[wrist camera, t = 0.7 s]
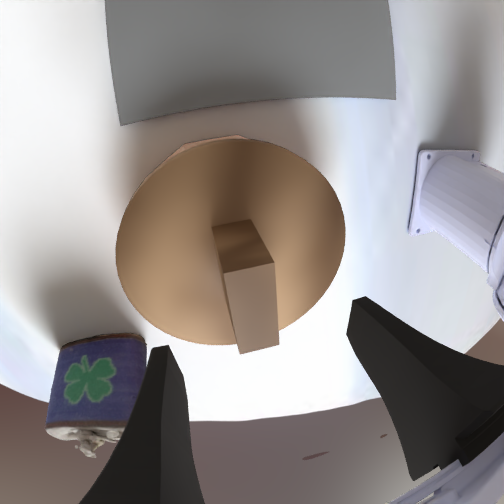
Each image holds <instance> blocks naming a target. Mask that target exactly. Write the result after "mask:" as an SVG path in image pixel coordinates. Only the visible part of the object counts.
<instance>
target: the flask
mask: <svg viewBox="0 0 504 504" xmlns="http://www.w3.org/2000/svg"><path fill="white" fill-rule="evenodd" d="M146 345H147V344H146V343H145V340H144V338H143V337H141V336H140V335H136V334H133V333H131V334H130V333H119V334H110V335H107V334H105V335H100V336H95V337H93V338H86V339H83V340H79V341H74V342H71V343H67V344H66V345H64V346H62V348H61V350H60V353H59V357H58V362H57V366H56V371H55V376H54V381H53V385H52V389H51V395H50V401H49V407H48V413H47V419H46V424H45V429H46V431H47V433H48V434H50V435H52V436H53V437H56V438H58V439H60V440H77V439H78V441H80V442H81V446H80V447H79V449H80V450H81V451H82V452H84V454H85V455H86V456H88V457H93V458H95V457H96V456H94V455H95V449H96V448H98V447H99V446H100V445H103V444H104V443H105V442H104V440H105V441H109V442H114V443H116V441H114V439H115V440H119V439H120V437H121V435H122V433H123V431H124V429H125V426H126V424H127V422H128V419H129V417H130V414H131V412H132V409H133V406H134V404H135V401H136V398H137V395H138V392H139V389H140V387H141V384H142V381H143V377H144V374H145V371H146V355H147V347H146ZM75 448H78V446H75Z"/></svg>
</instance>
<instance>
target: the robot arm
mask: <svg viewBox="0 0 504 504" xmlns="http://www.w3.org/2000/svg"><path fill="white" fill-rule="evenodd" d="M427 155H428V157H427ZM479 161H480V152H479V151H476V150H421V151H420V152H419V155H418V166H417V175H416V184H415V192H414V199H413V206H412V213H411V219H410V225H409V231H408V233H409V235H411V236H417V235H421V234H424V233H428V232H432V231H436V232H438V233H439V234H440V235H442V236H443V237H444V238H446V239H447V240H448V241H449V242H451V243H452V244H453V245H455V246H456V247H457V248H458V249H460V250H461V251H462V252H463V253H465V254H466V255H467V256H468V257H469V258H471V259H472V260H473V261H474V262H476V263H477V264H478V265H479V266H480V267H481V268H483V269H484V270H485V271H486V272H487V273H488V274H489V275H488V279H487V284H488V285H490V286H491V287H492V288H493V289H494V291H493V302H494V305H495V308H496V310H497V312H498V313H499V315H500V317H501V319H502V320H503V321H504V173H502V172H500V171H498V170H496V169H494V168H492V167H490V166H488V165H486V164H484V163H481V162H479ZM346 335H347V337H348V339H349V341H350V344H351V346H352V348H353V350H354V352H355V354H356V356H357V358H358V359H359V361H360V363H361V364H362V366H363V368H364V369H365V371H366V372H367V374H368V376H369V377H370V379H371V380H372V382H373V384H374V385H375V387H376V389H377V390H378V392H379V393H380V395H381V397H382V399H383V401H384V403H385V405H386V407H387V409H388V411H389V414H390V416H391V418H392V421H393V423H394V426H395V428H396V431H397V433H398V436H399V439H400V442H401V445H402V448H403V451H404V454H405V458H406V462H407V466H408V470H409V474H410V476H411V478H412V480H413V481H415V480H417V479H418V478H420V477H422V476H423V475H425V474H427V473H428V472H430V471H432V470H433V469H435V468H436V467H438V466H439V467H440V469H441V471H440V472H438V473H437V474H435V475H434V476H432V477H431V478H429V479H428V480H426V481H425V482H423V483H421V484H420V485H418V486H416V487H415V488H413V489H411V490H410V491H408V492H406V493H404V494H403V495H401V496H399V497H397V498H396V499H394V500H392V501H390V502H388V503H386V504H416V503H417V502H419V501H421V500H422V499H424V498H425V497H427V496H428V495H430V494H431V493H433V492H434V495H433V496H432V497H430V498H428V499H426V500H424V501H422V502H420V503H418V504H496V503H497V502H498V500H499V499H500V498H501V497H502V495H503V494H504V366H503V365H498V364H494V363H490V362H486V361H483V360H479V359H476V358H473V357H470V356H468V355H465V354H463V353H460V352H458V351H455V350H453V349H451V348H449V347H447V346H445V345H443V344H440V343H438V342H436V341H435V340H433V339H431V338H429V337H427V336H426V335H424V334H422V333H421V332H419V331H417V330H416V329H414V328H412V327H411V326H409V325H408V324H406V323H405V322H403V321H402V320H400V319H399V318H397V317H396V316H394V315H393V314H391V313H390V312H388V311H387V310H385V309H384V308H382V307H381V306H379V305H378V304H377V303H375V302H374V301H372V300H371V299H369V298H367V297H366V296H365V297H361V298H358V299H355V300H353V301H352V307H351V312H350V318H349V323H348V328H347V333H346ZM79 504H205V503H204V499H203V496H202V493H201V489H200V485H199V481H198V478H197V474H196V469H195V465H194V461H193V455H192V449H191V437H190V426H189V413H188V399H187V394H186V388H185V382H184V377H183V374H182V372H181V370H180V368H179V366H178V364H177V362H176V360H175V358H174V356H173V353H172V351H171V349H170V347H169V345H166V346H160V347H154V348H152V350H151V353H150V357H149V360H148V364H147V367H146V371H145V374H144V377H143V381H142V384H141V387H140V389H139V392H138V395H137V398H136V401H135V404H134V406H133V409H132V412H131V414H130V417H129V419H128V422H127V424H126V426H125V429H124V431H123V433H122V435H121V437H120V439H119V442H118V444H117V446H116V447H115V449H114V451H113V453H112V455H111V457H110V459H109V461H108V462H107V464H106V466H105V467H104V469H103V470H102V472H101V474H100V475H99V477H98V478H97V480H96V481H95V483H94V484H93V486H92V487H91V489H90V490H89V491H88V492H87V494H86V495H85V496H84V498H83V499H82V500H81V501H80V503H79Z"/></svg>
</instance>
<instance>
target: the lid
mask: <svg viewBox="0 0 504 504" xmlns="http://www.w3.org/2000/svg"><path fill="white" fill-rule="evenodd" d="M344 246H345V221H344V215H343V211H342V208H341V204H340V202H339V200H338V197H337V195H336V193H335V191H334V190H333V188H332V187H331V185H330V184H329V182H328V181H327V179H326V178H325V177H324V176H323V175H322V174H321V173H320V172H319V171H318V170H317V169H316V168H315V167H314V166H312V165H311V164H310V163H308V162H307V161H306V160H304V159H303V158H301V157H299V156H298V155H296V154H294V153H292V152H290V151H289V150H287V149H285V148H283V147H280V146H277V145H274V144H271V143H269V142H264V141H259V140H254V139H238V138H234V139H223V140H215V141H211V142H207V143H203V144H199V145H197V146H194V147H191V148H189V149H186V150H184V151H182V152H180V153H178V154H177V155H175V156H173V157H171V158H170V159H168V160H167V161H165V162H164V163H163V164H161V165H160V166H159V167H158V168H156V169H155V170H154V171H153V172H152V173H151V174H150V175H149V176H148V177H147V178H146V179H145V180H144V181H143V182H142V183H141V185H140V186H139V188H138V189H137V190H136V192H135V193H134V195H133V196H132V198H131V200H130V202H129V204H128V206H127V208H126V210H125V213H124V215H123V218H122V221H121V224H120V227H119V231H118V235H117V242H116V266H117V272H118V276H119V279H120V282H121V285H122V288H123V290H124V292H125V294H126V296H127V297H128V299H129V301H130V302H131V304H132V305H133V306H134V308H135V309H136V310H137V311H138V312H139V313H140V314H141V315H142V316H143V317H144V318H145V319H146V320H147V321H148V322H150V323H151V324H152V325H153V326H155V327H156V328H158V329H160V330H161V331H163V332H165V333H167V334H169V335H171V336H174V337H176V338H179V339H182V340H185V341H189V342H194V343H199V344H207V345H231V344H237V346H238V349H239V353H240V354H244V353H248V352H252V351H256V350H260V349H264V348H268V347H272V346H276V345H279V330H281V329H283V328H285V327H287V326H288V325H290V324H292V323H293V322H295V321H296V320H297V319H299V318H300V317H301V316H303V315H304V314H305V313H306V312H307V311H309V310H310V309H311V308H312V307H313V306H314V305H315V304H316V303H317V302H318V300H319V299H320V298H321V297H322V296H323V294H324V293H325V292H326V290H327V289H328V287H329V286H330V284H331V283H332V281H333V279H334V277H335V275H336V273H337V271H338V268H339V266H340V263H341V259H342V256H343V252H344Z"/></svg>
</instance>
